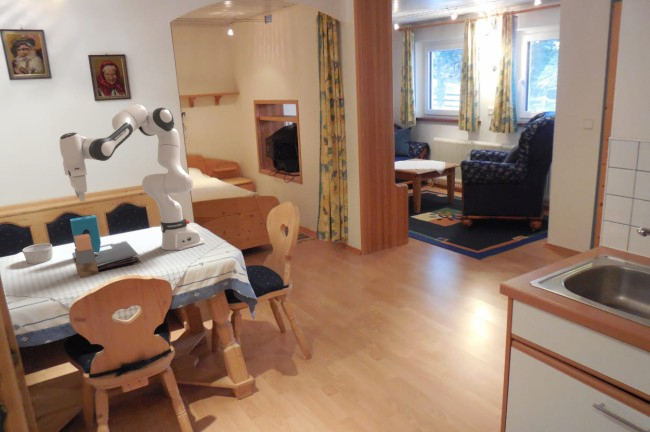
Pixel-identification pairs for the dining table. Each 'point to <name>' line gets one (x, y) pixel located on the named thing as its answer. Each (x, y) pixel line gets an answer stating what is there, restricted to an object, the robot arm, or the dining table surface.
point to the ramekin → (38, 253)
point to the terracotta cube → (83, 242)
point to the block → (89, 224)
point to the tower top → (85, 256)
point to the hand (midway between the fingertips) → (80, 199)
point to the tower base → (87, 269)
